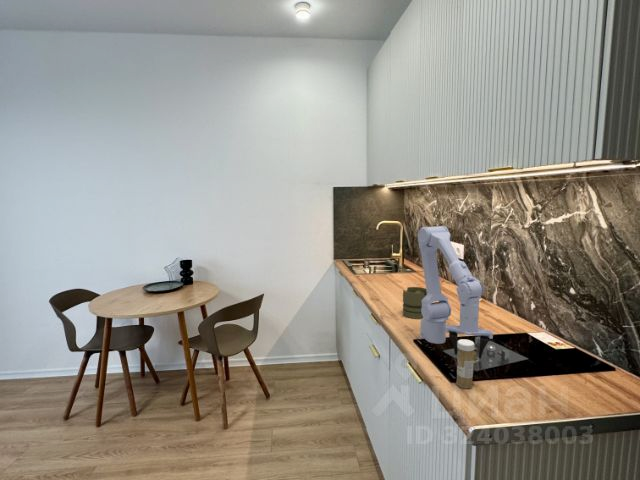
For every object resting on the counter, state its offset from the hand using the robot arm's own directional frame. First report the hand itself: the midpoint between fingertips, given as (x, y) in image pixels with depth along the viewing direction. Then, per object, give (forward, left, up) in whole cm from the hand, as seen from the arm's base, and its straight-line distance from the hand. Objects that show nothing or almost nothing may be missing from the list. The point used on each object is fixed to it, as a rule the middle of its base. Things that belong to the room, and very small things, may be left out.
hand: (467, 355), depth 123 cm
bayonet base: (0, +7, -2) cm, 7 cm away
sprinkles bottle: (+12, -12, -2) cm, 17 cm away
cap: (0, 0, -1) cm, 1 cm away
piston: (-46, +11, -2) cm, 47 cm away
